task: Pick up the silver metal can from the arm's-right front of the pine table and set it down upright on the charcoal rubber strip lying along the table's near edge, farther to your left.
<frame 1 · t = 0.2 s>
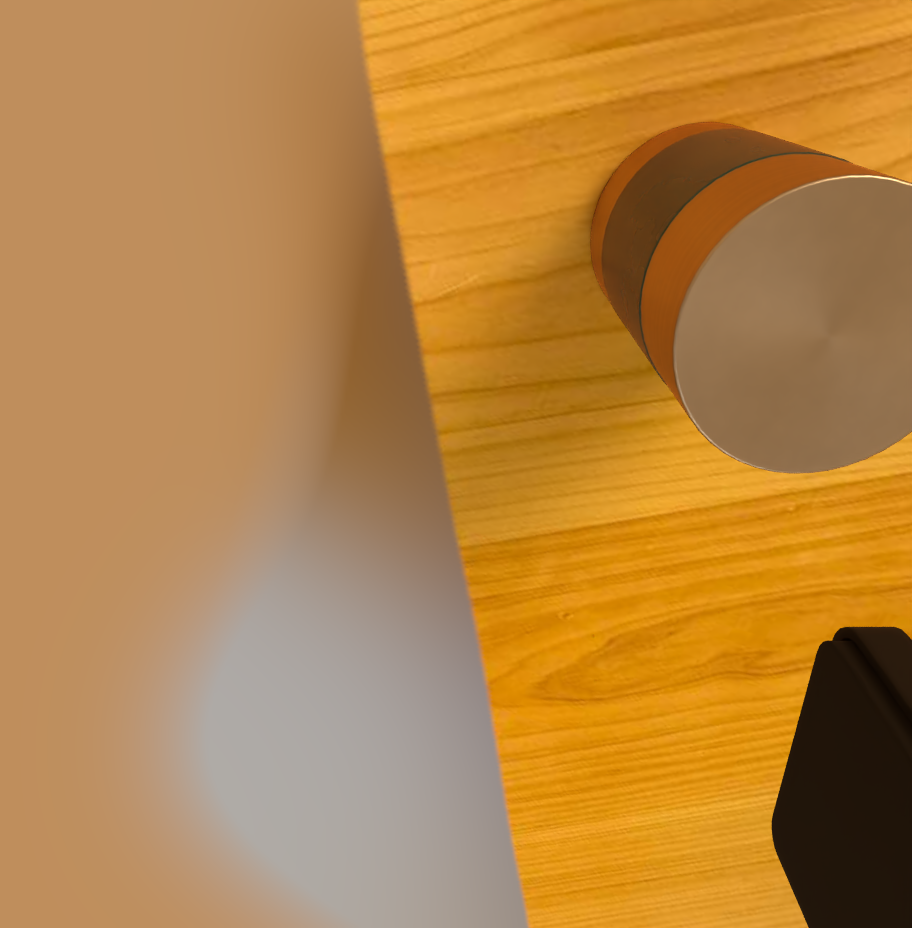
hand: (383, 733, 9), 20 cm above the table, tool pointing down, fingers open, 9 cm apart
can: (694, 234, 27), on the table
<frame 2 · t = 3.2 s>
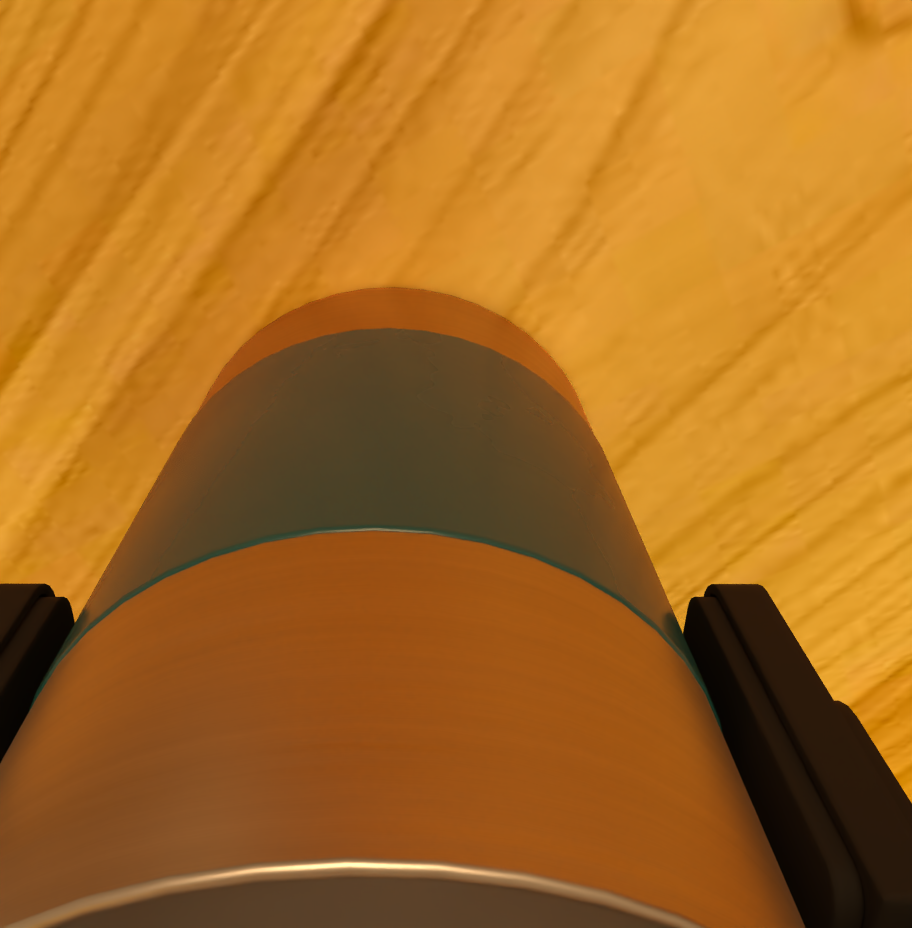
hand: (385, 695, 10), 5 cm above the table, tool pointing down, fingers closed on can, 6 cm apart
can: (395, 481, 14), on the table, touching gripper
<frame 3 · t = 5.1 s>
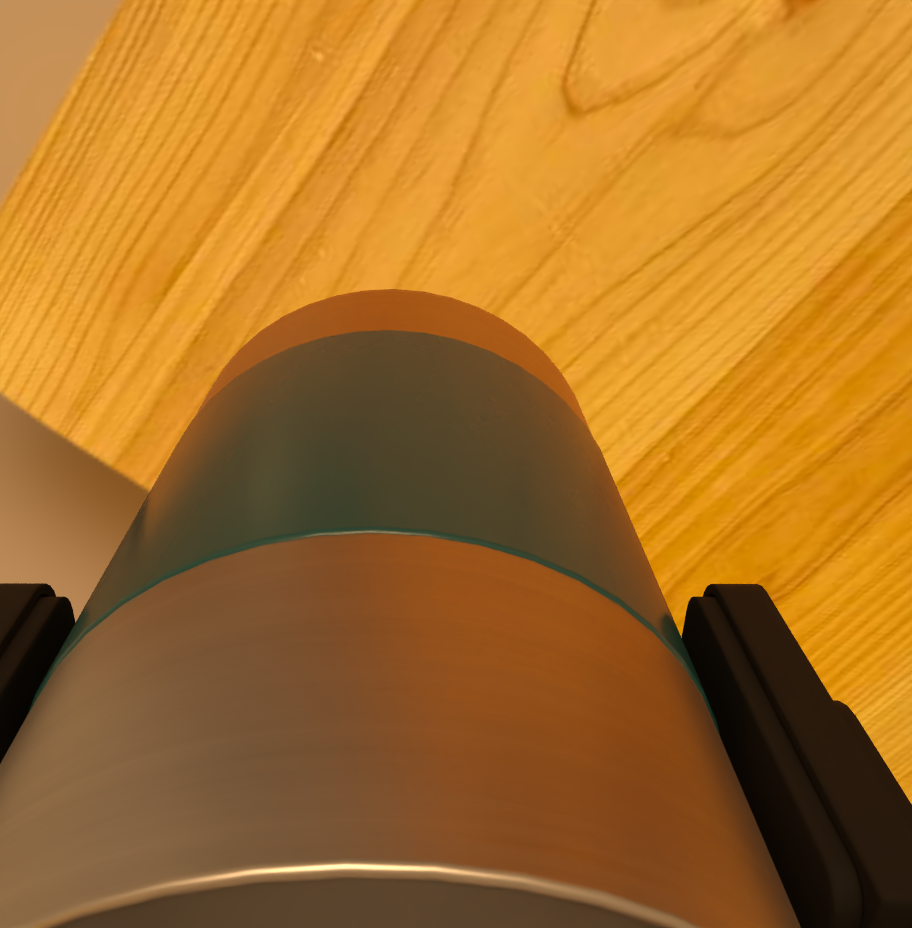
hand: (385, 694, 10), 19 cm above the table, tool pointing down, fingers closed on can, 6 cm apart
can: (394, 483, 14), point 14 cm above the table, touching gripper
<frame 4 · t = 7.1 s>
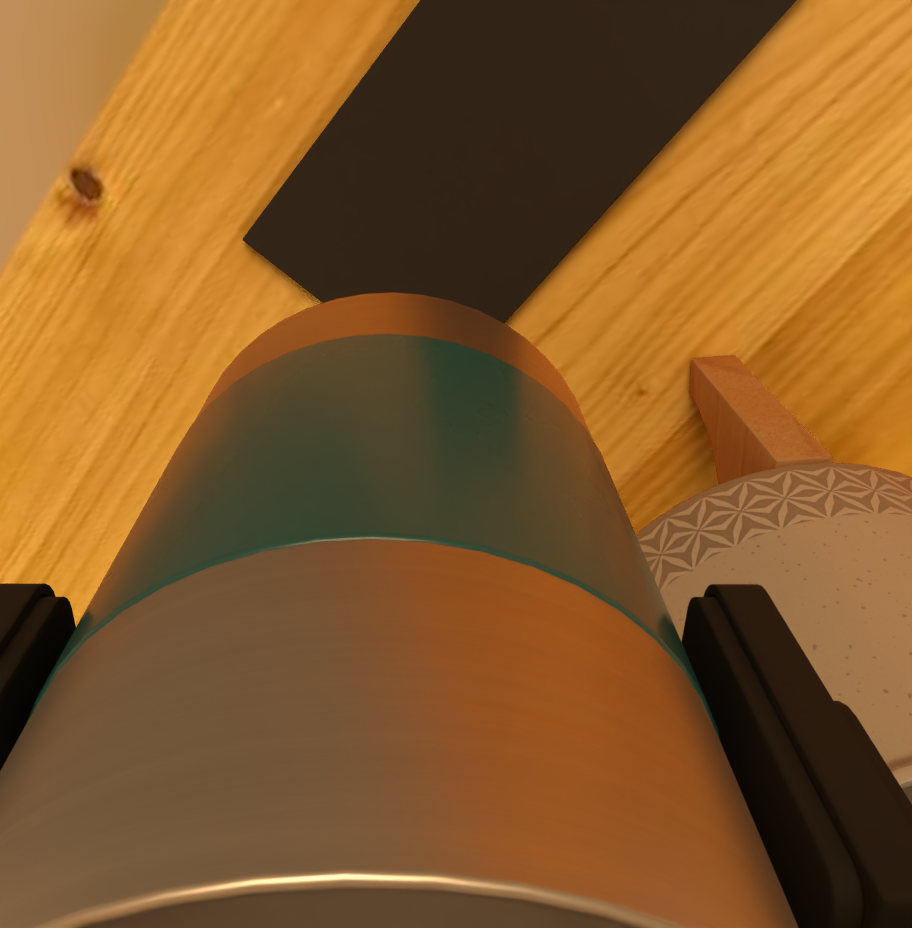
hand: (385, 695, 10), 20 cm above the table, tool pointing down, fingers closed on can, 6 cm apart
planter: (699, 517, 33), on the table
edge strip: (511, 117, 26), on the table
can: (394, 485, 14), point 15 cm above the table, touching gripper
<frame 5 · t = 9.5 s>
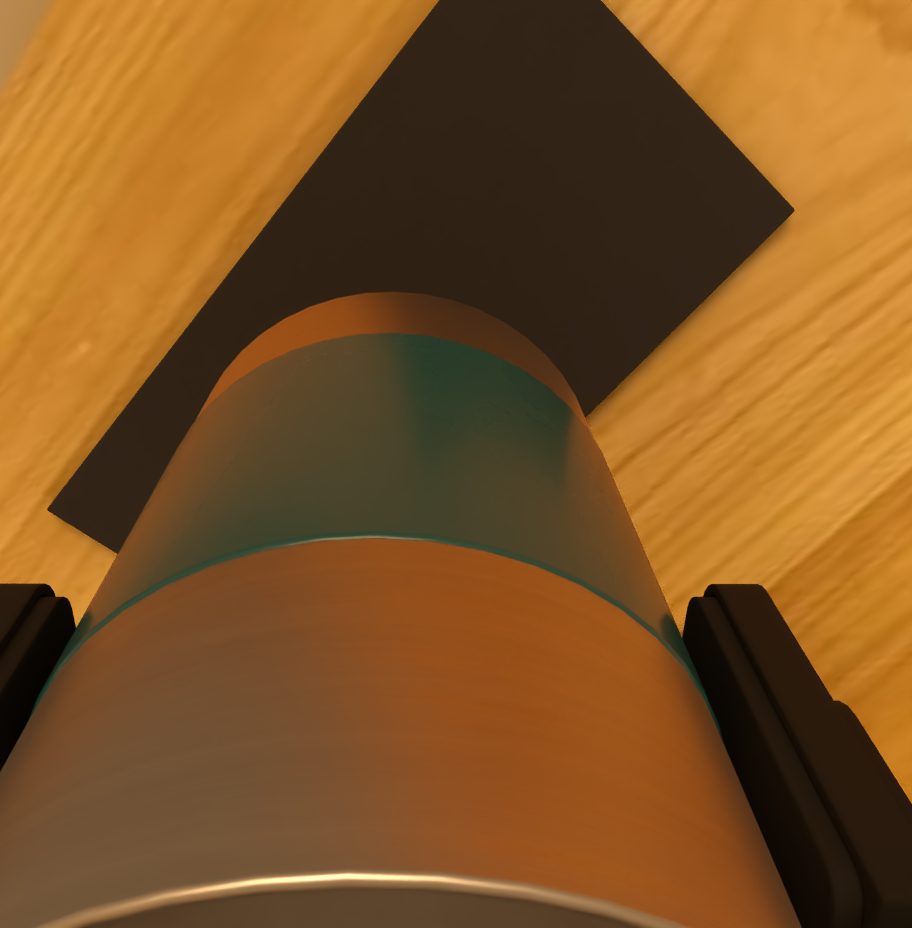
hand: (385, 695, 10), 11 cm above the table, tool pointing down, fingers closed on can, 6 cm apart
edge strip: (397, 365, 19), on the table
can: (395, 485, 14), point 6 cm above the table, touching gripper
when the fingers open (5 cm above the table, at t = 11.3 s): can stays where it is, resting on edge strip.
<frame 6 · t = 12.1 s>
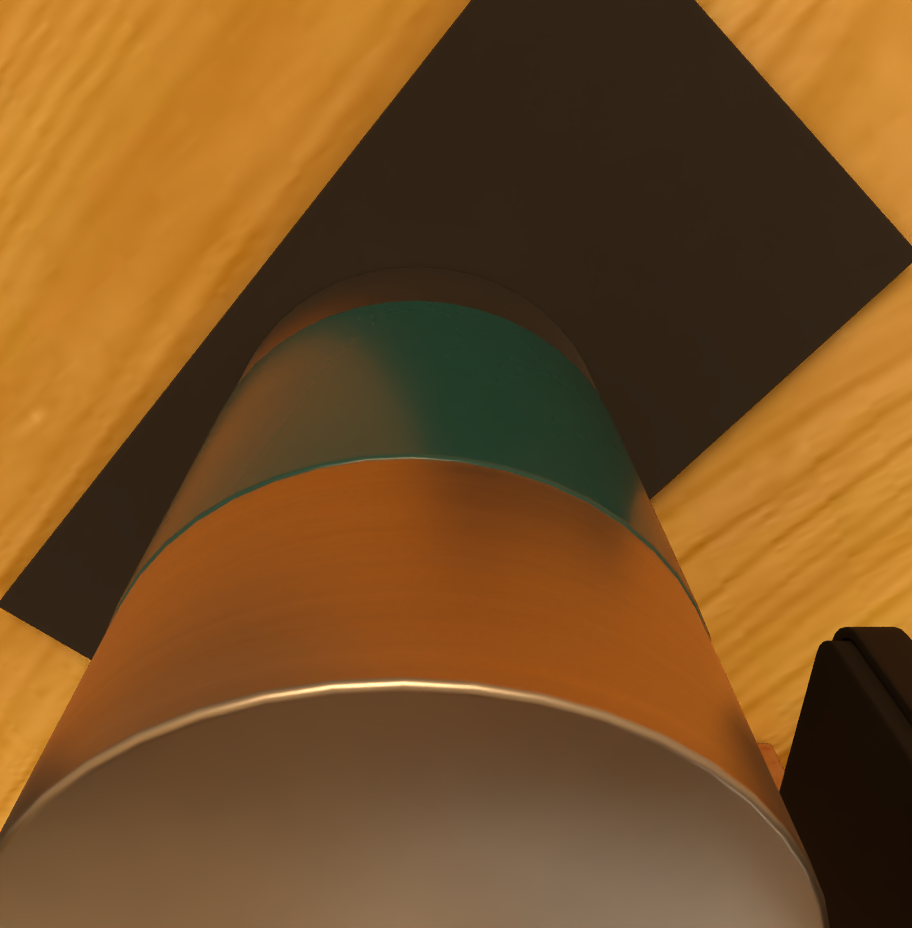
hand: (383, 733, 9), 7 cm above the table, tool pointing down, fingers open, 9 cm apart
planter: (711, 923, 23), on the table
edge strip: (419, 438, 16), on the table
can: (418, 448, 16), resting on edge strip
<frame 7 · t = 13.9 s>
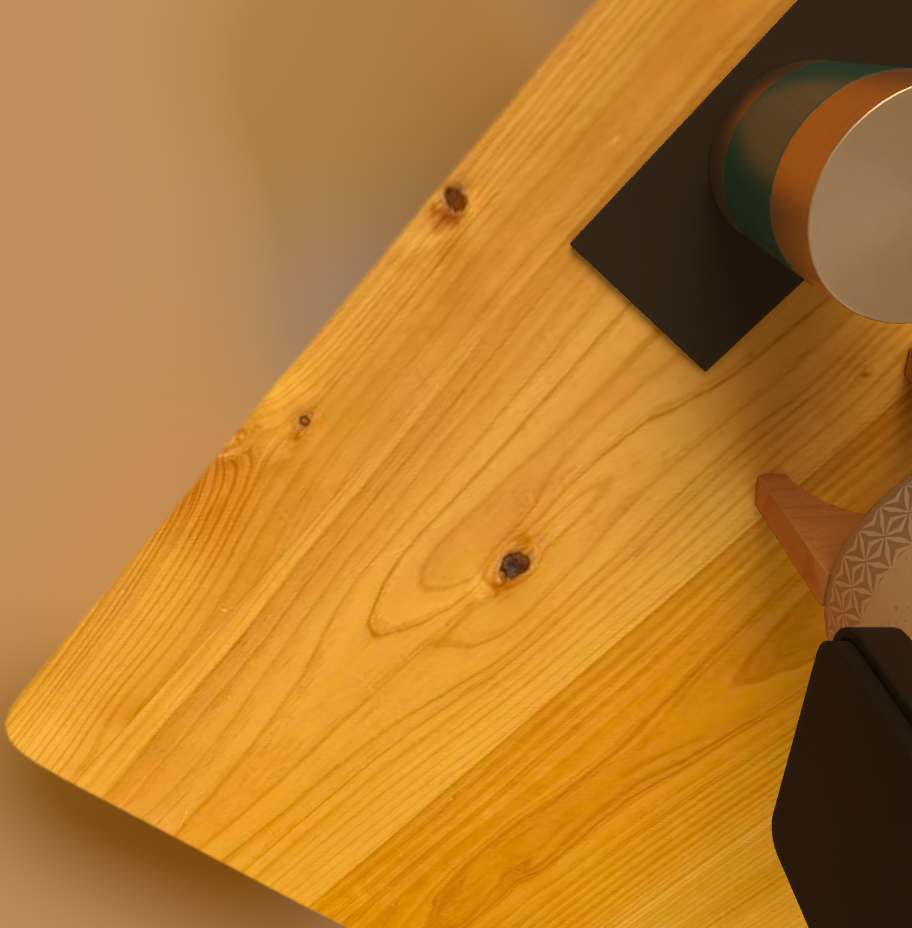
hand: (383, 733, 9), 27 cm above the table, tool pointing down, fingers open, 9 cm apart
planter: (897, 480, 40), on the table
edge strip: (794, 153, 33), on the table
can: (796, 156, 33), resting on edge strip
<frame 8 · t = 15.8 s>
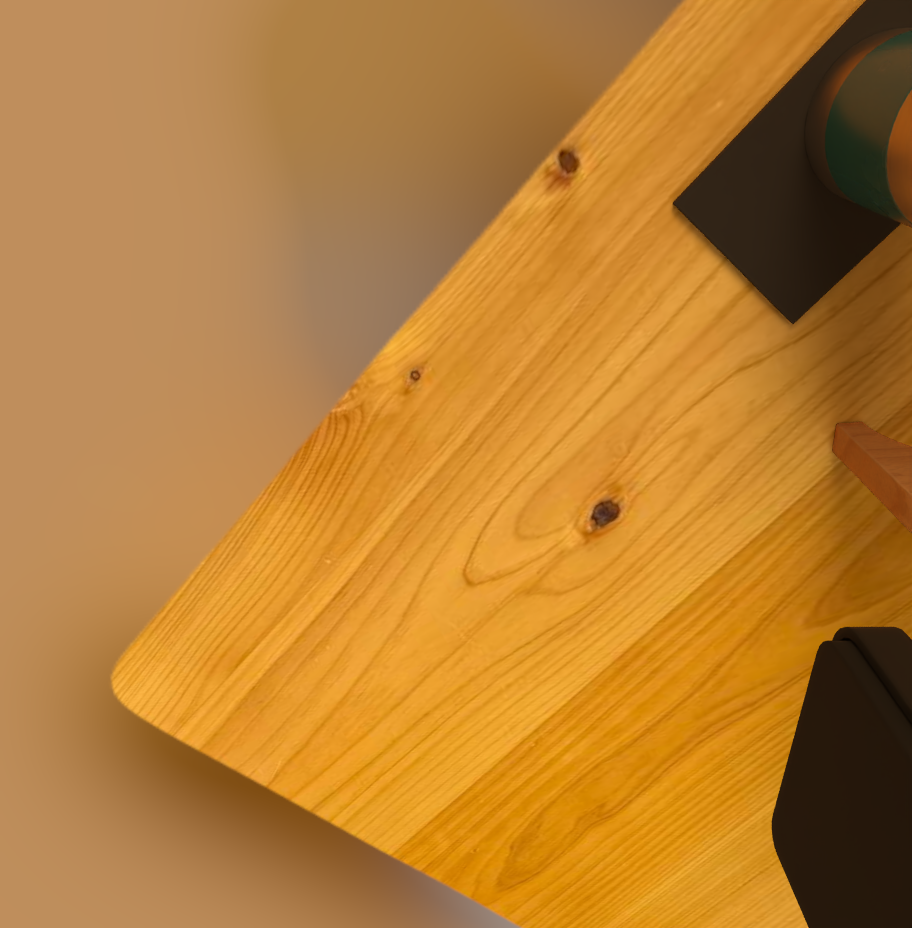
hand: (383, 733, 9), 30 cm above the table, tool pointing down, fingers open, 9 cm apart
edge strip: (882, 116, 35), on the table
can: (885, 119, 35), resting on edge strip
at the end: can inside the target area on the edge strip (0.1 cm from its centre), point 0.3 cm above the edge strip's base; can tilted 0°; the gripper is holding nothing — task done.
